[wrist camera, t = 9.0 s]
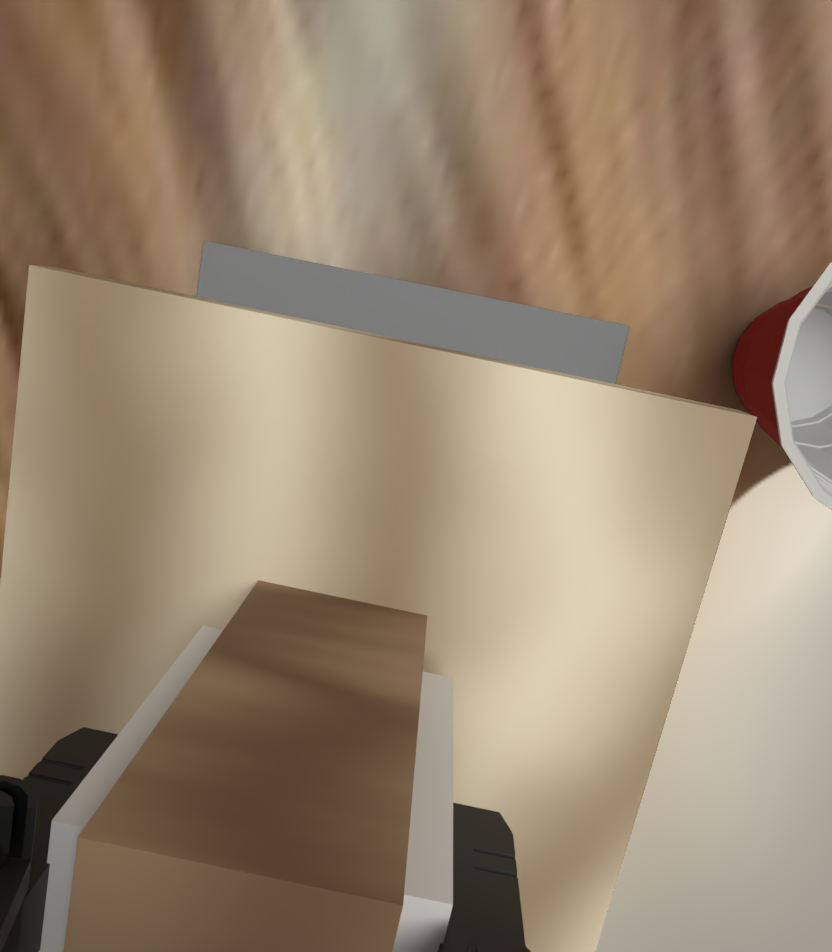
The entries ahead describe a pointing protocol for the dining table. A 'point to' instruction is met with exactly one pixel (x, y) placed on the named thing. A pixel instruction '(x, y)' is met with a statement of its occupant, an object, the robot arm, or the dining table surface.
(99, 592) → the lid
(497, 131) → the dining table surface
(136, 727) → the robot arm
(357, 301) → the mat
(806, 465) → the plastic cup
